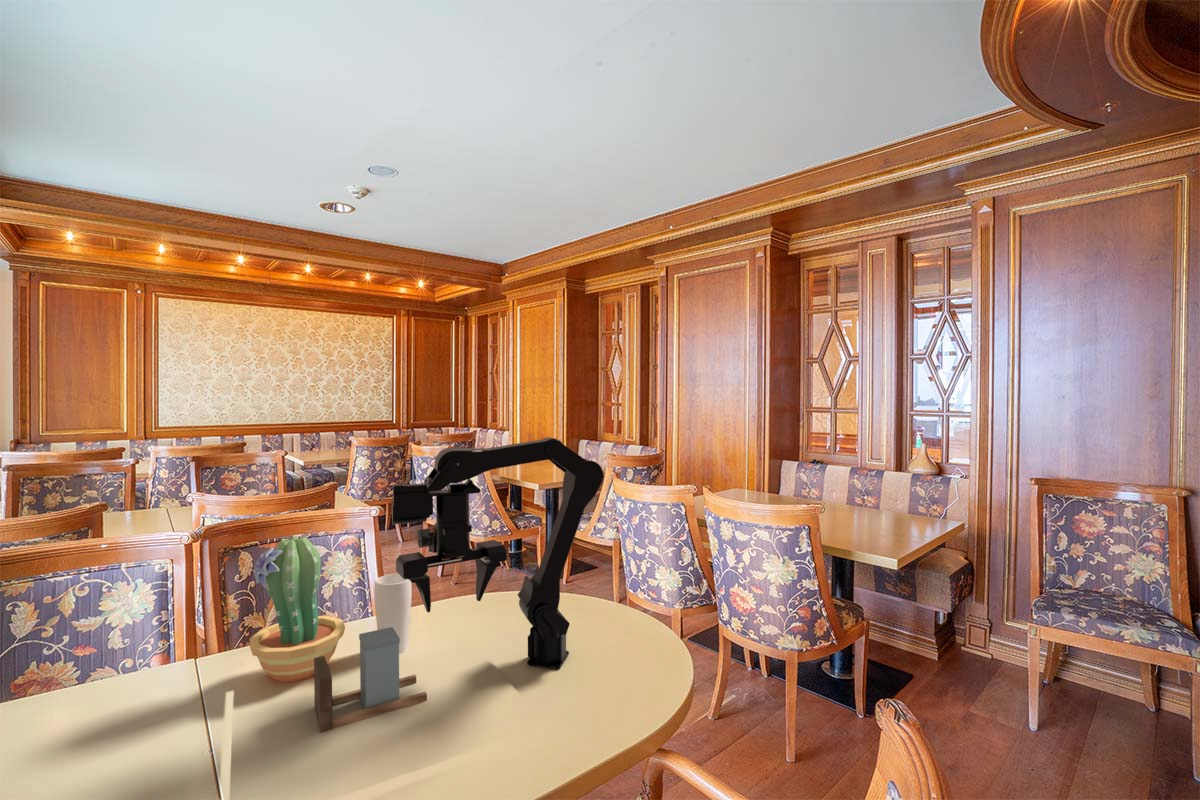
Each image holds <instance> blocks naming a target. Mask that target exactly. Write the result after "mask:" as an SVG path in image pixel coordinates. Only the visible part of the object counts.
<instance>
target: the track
mask: <svg viewBox="0 0 1200 800" xmlns="http://www.w3.org/2000/svg"><path fill="white" fill-rule="evenodd" d="M313 677H314V678H313V680H314V684H313V685H314V686H313V687H314V688H313V689H314V695H313V696H314V711H315V716H316V719H317V724H318V730H319V733H320V734H321V733H323V732H328V731H331V730H332V729H334V728H338V727H342V726H345V725H347V724H351V723H355V722H359V721H361V720H364V719H369V718H372V717H375V716H378V715H382V714H386V713H388V712H392V711H395V710H399V709H402V708H406V707H408V706H412V705H415V704H419V703H422V702H426V701H428V693H427V691H423V692H418V693H415V694H413V695H408V696H405V697H401V698H399V699H397V700H394V701H390V702H387V703H383V704H380V705H376V706H373V707H369V708H366V709H364V708H361V709H359V710H356V711H352V712H349V713H346V714H340V715H339V716H335V717H333V706H334V707H335V706H336V705H340V704H344V703H348V702H351V701H355V700H359V699H361V689H360V688H359V689H355V690H351V691H348V692H344V693H341V694H340V693H339V694H337V695H333V677H332V675H331V671H330V668H329V665H328V663H327V662H326V659H325V656H321V657H317V658H314V675H313ZM414 684H417V675H416V674H412V675H407V676H405V677H399V688H402V687H406V686H409V685H414Z"/></svg>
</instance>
